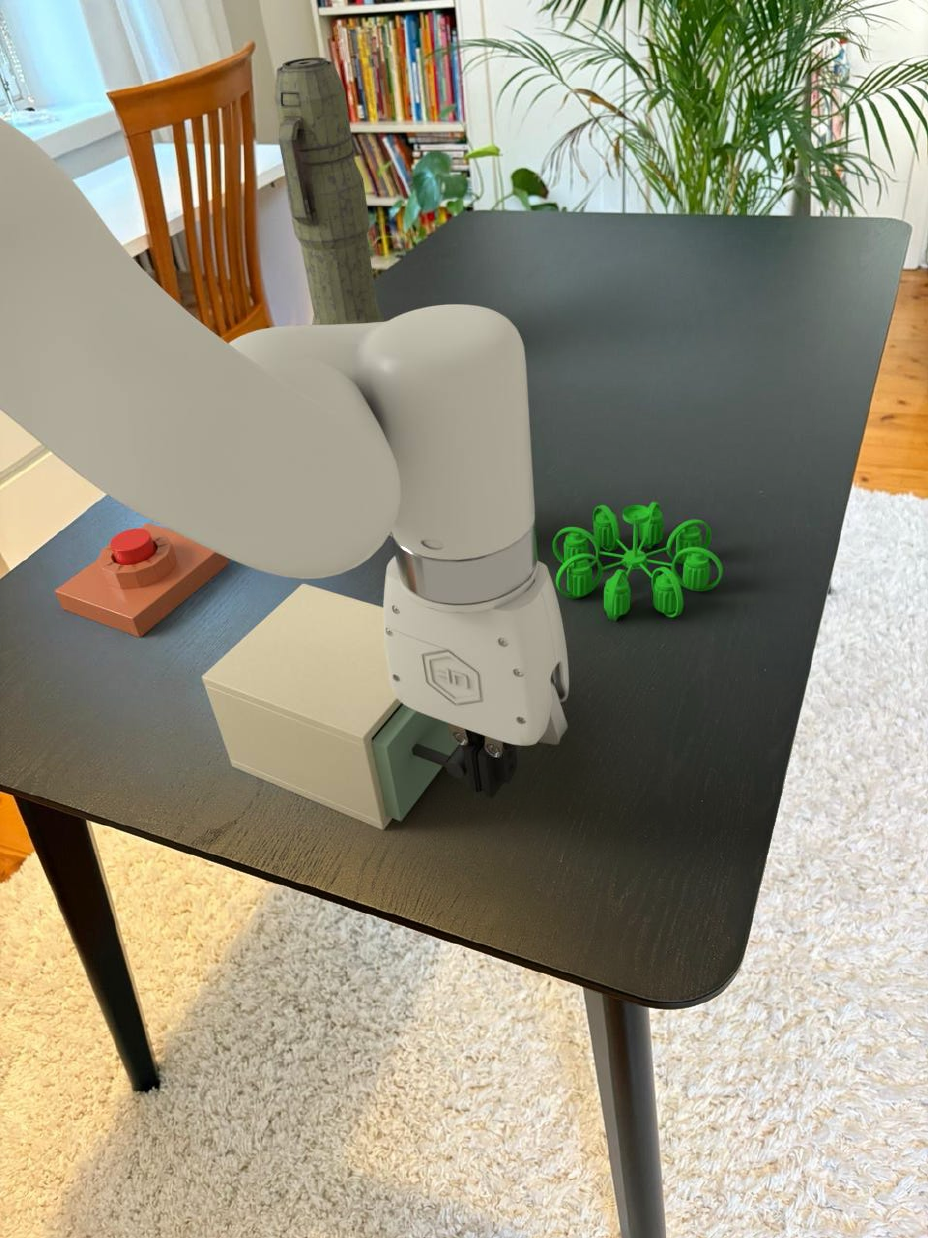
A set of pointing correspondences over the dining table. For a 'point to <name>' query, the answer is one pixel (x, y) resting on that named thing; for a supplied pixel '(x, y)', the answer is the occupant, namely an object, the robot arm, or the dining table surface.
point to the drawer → (412, 757)
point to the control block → (141, 583)
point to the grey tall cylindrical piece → (325, 192)
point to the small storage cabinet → (309, 701)
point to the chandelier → (636, 559)
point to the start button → (132, 546)
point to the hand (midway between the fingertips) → (492, 778)
